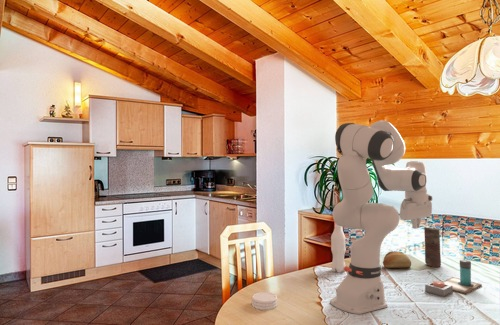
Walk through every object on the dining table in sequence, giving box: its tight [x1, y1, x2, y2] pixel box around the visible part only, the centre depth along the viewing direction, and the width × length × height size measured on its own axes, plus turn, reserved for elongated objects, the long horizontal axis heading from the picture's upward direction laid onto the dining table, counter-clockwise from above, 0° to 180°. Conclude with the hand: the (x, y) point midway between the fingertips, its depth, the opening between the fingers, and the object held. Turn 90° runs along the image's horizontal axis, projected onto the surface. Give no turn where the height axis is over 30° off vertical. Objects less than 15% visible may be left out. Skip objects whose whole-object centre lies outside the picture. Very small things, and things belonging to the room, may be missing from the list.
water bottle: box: [330, 222, 347, 274], centre depth 175 cm, size 7×7×25 cm
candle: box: [423, 226, 442, 268], centre depth 183 cm, size 8×7×20 cm
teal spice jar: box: [459, 259, 472, 286], centre depth 152 cm, size 4×4×10 cm
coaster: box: [251, 291, 278, 311], centre depth 135 cm, size 10×10×4 cm
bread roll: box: [382, 250, 412, 269], centre depth 181 cm, size 10×15×8 cm, turn 100°
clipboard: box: [442, 276, 483, 295], centre depth 153 cm, size 16×12×1 cm
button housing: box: [424, 280, 454, 298], centre depth 146 cm, size 8×8×3 cm
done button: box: [432, 280, 445, 288], centre depth 146 cm, size 4×4×3 cm
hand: (416, 228), depth 155 cm, fingers closed
